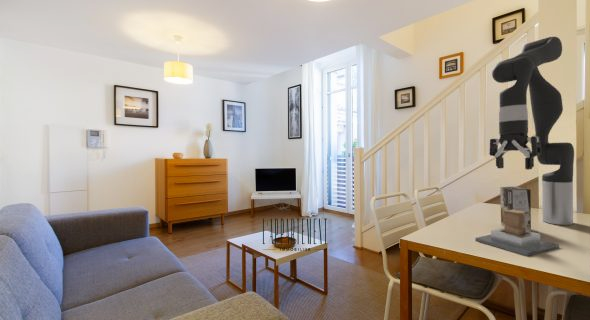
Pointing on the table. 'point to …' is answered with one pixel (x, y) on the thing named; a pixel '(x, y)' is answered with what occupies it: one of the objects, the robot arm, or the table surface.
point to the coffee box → (516, 203)
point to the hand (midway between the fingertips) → (513, 168)
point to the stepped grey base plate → (517, 242)
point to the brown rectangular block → (515, 222)
